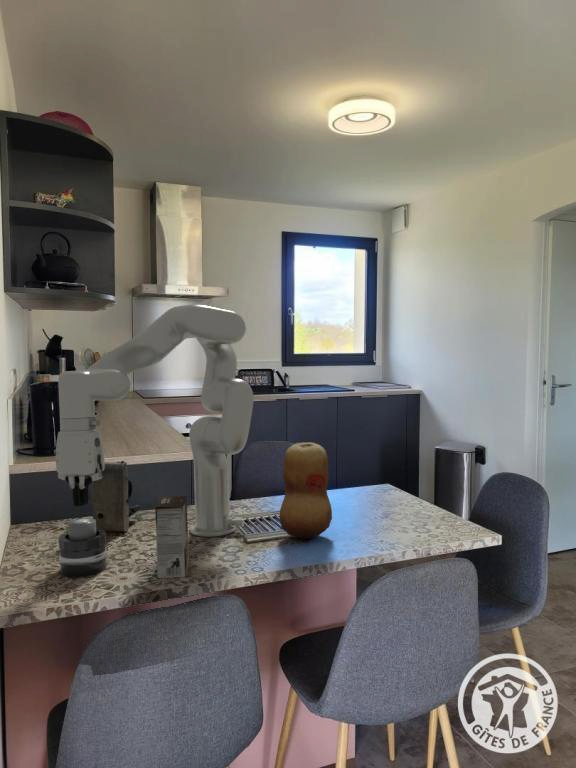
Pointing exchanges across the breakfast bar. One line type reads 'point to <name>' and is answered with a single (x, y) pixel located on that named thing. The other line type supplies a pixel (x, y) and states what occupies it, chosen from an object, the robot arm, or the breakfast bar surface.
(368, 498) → the breakfast bar surface
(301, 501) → the butternut squash
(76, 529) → the white rounded cube
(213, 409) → the robot arm
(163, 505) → the coffee box
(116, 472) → the vintage camera
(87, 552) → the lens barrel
